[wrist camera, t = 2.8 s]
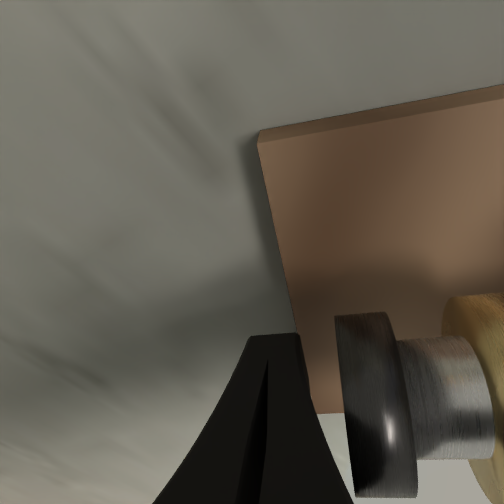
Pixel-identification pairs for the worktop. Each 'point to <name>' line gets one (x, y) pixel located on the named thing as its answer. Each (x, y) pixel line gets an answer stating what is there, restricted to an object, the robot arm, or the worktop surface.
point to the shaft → (424, 397)
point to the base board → (386, 218)
